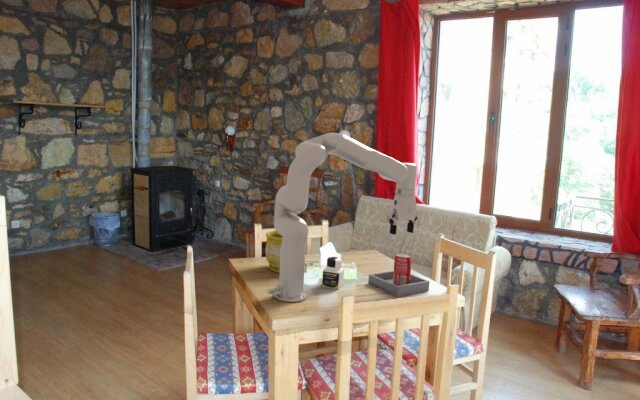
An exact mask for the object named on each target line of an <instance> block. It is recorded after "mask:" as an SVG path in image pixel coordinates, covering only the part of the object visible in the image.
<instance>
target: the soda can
mask: <svg viewBox="0 0 640 400" xmlns="http://www.w3.org/2000/svg"><path fill="white" fill-rule="evenodd" d="M412 260H413V259H412V255H410V254H409V253H402V252H401V253H396V254H395V257H394V261H393V271H394V274H393V283H394V285H397V286H401V285H406V284H410V274H412V273H411V271H412Z"/></svg>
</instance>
